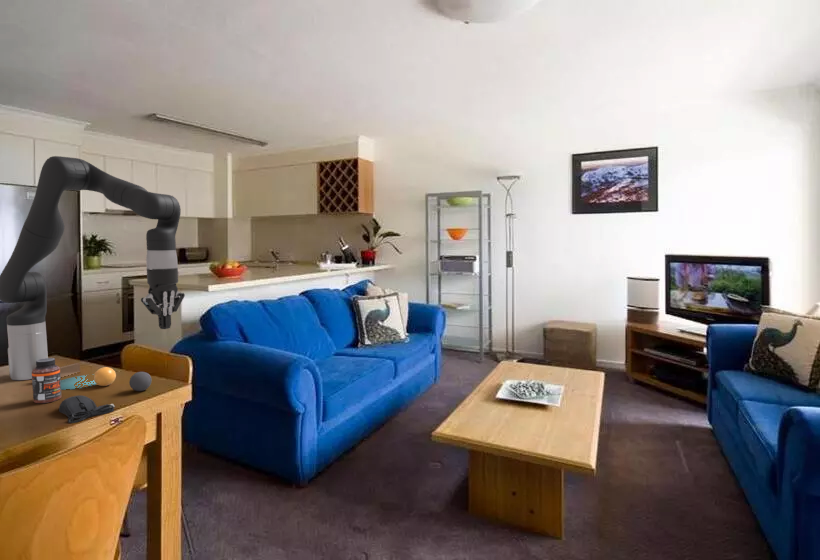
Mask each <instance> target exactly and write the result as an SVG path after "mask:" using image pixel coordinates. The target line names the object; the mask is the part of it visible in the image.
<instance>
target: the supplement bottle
mask: <svg viewBox="0 0 820 560" xmlns="http://www.w3.org/2000/svg"><path fill="white" fill-rule="evenodd" d="M59 367H60V366H59V365H56V358H54V357H48V358H44V359H39V360H37V361H36V368H35V369H33V370H32V379H31V384H32V399H33V402H34V403H35V404H47V403H53V402H57V401H58V400H59V399H61V398H62V390H61V378H60V368H59Z"/></svg>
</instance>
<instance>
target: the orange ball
mask: <svg viewBox="0 0 820 560" xmlns="http://www.w3.org/2000/svg"><path fill="white" fill-rule="evenodd" d="M93 375H94V381H95V383H96V384H98V386H100V387H107V386H110V385H111V384H113V383H114V382H115V380H116V377H117V373H116V371H115V370H114V369H113V368H112V367H106V366H104V367H101V368H99V369H97V370H96V371H95V372H94V374H93Z"/></svg>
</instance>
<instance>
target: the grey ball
mask: <svg viewBox="0 0 820 560" xmlns="http://www.w3.org/2000/svg"><path fill="white" fill-rule="evenodd" d="M152 379H153V378H152V377H151V375H150V374H149V372H145V371H137V372H135V373H134V374H133V375H132V376H131V377H130V378H129V381H128V383H129V386H130V388H131V389H132V390H134V391H135V392H143V391H145V390H147V389H148V388H149V387H150V386H151V384H152V382H153V381H152Z"/></svg>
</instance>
